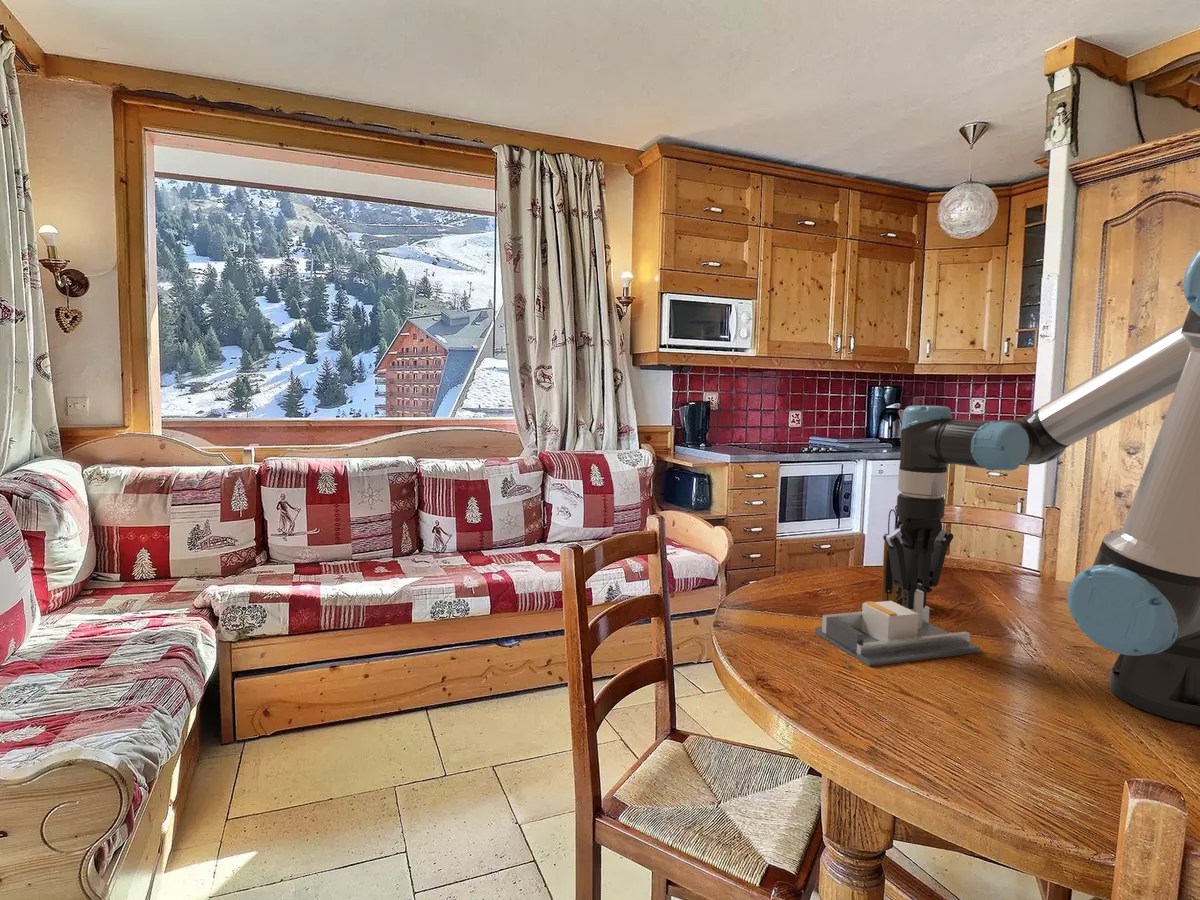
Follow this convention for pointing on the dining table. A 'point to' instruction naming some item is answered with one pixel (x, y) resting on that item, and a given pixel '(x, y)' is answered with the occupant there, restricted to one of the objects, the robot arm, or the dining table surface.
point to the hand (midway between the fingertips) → (912, 625)
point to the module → (889, 620)
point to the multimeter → (890, 574)
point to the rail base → (893, 641)
